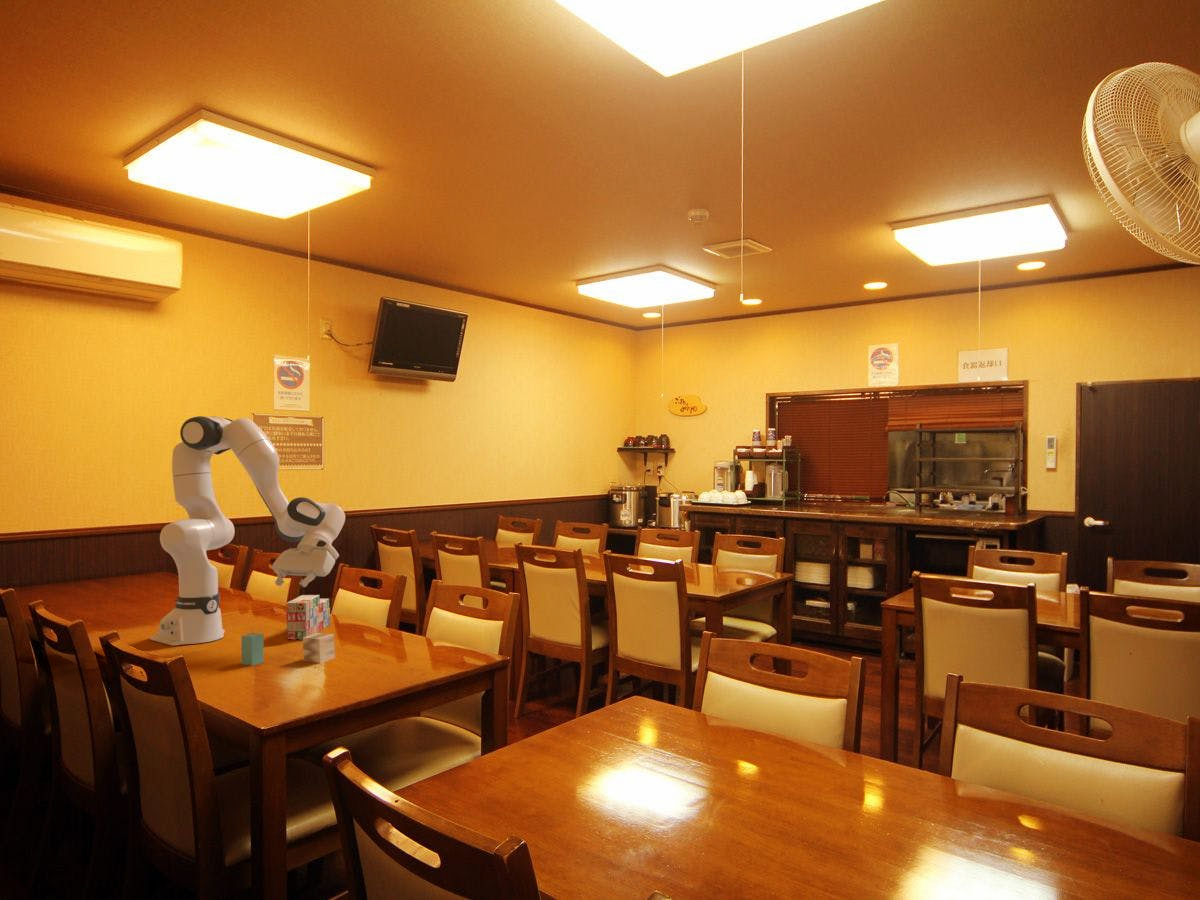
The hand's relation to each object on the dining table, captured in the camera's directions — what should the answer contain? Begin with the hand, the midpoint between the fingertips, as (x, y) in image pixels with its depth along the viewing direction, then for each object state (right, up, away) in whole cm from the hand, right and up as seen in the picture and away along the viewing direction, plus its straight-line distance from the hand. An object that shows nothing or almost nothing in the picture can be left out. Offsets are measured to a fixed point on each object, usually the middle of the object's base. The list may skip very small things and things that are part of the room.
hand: (290, 585), depth 227 cm
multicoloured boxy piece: (-3, -20, +24) cm, 31 cm away
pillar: (-5, -20, -13) cm, 24 cm away
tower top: (+12, -16, -9) cm, 23 cm away
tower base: (+12, -20, -9) cm, 25 cm away
